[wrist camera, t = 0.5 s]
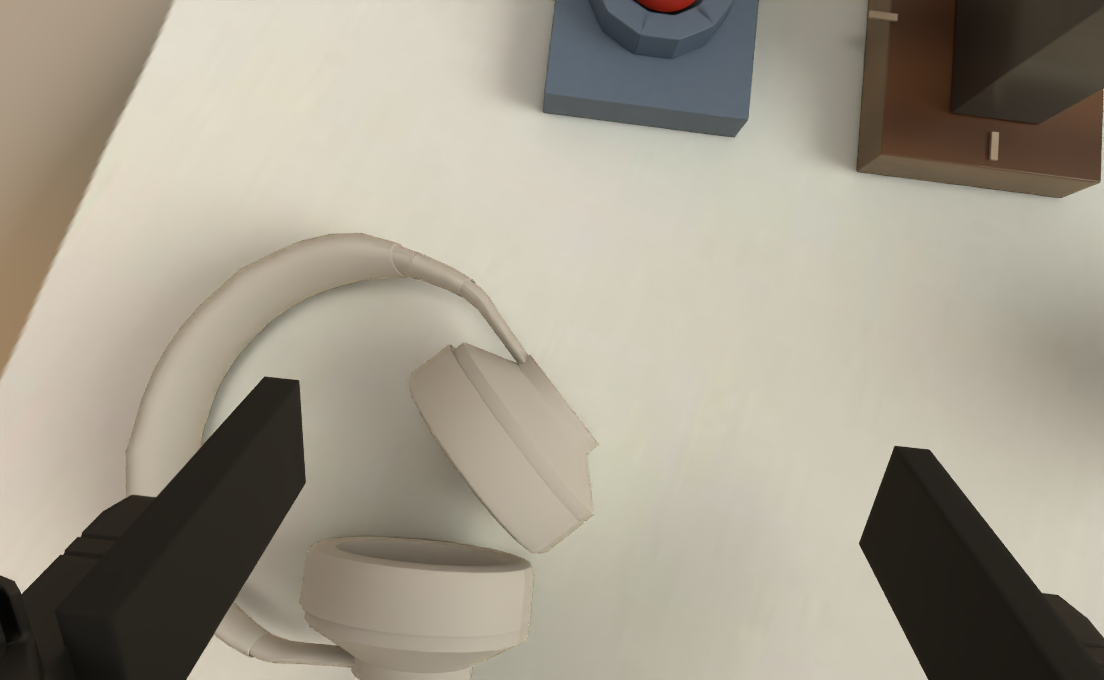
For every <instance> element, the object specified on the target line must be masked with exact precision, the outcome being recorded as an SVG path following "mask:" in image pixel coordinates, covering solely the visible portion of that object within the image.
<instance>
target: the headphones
mask: <svg viewBox="0 0 1104 680" xmlns="http://www.w3.org/2000/svg"><path fill="white" fill-rule="evenodd" d="M407 277H412V278H415V279H418V280H423V281H425V282H428V283H431V284H433V285H436V286H439V287H441V288H444V289H447V290H449V291H451V292H453V293H455V294H457V295H459V296H461V297H464V298H465V299H466V300H467V301H468V302H470V303H471V304H472V305H473V306H474V307H476V308H477V309H478V310H479V312H480V313H481V314H482V316H483V317H484V318H485V319H486V321H487V322H488V323H489V325H490V326H491V327H492V329H493V330H494V332H495V333H496V334H497V336H498V337H499V338H500V340H501V341H502V342H503V344H504V345H505V347H506V348H507V349H508V351H509V352H510V353H511V355H512V356H513V357H514V359H515V360H516V361H517V363H518V364H517V363H515V362H512V361H510V360H507V359H505V358H502V357H500V356H497V355H495V354H492V353H489V352H487V351H484V350H482V349H479V348H477V347H474V346H472V345H469V344H467V343H462V344H461V345H460V346H459V347H457V348H456V349H455V348H454V347H453V346H452V345H448V346H447V347H445V348H444V349H443V350H441V351H440V352H439V353H437V354H436V355H435V356H433V357H432V358H431V359H430V360H428V361H427V362H426V363H424V364H423V365H422V366H420V367H419V368H418V369H416V370H415V371H414V372H412V374H411V376H410V377H409V379H408V382H409V387H410V391H411V395H412V398H413V400H414V402H415V404H416V406H417V408H418V410H419V412H420V414H421V416H422V418H423V419H424V421H425V423H426V424H427V426H428V428H429V429H430V431H431V433H432V434H433V436H434V438H435V439H436V441H437V442H438V444H439V445H440V447H441V448H442V450H443V451H444V452H445V454H446V455H447V457H448V458H449V460H450V461H451V463H452V464H453V466H454V467H455V468H456V470H457V471H458V472H459V474H460V475H461V476H462V478H463V479H464V480H465V482H466V483H467V484H468V486H469V487H470V488H471V490H472V491H473V492H474V494H475V495H476V496H477V498H478V499H479V500H480V501H481V502H482V504H483V505H484V506H485V507H486V508H487V510H488V511H489V512H490V513H491V514H492V516H493V517H494V518H495V519H496V520H497V522H498V523H499V524H500V525H501V526H502V527H503V528H504V529H505V530H506V531H507V532H508V533H509V534H510V535H511V536H512V537H513V538H514V539H515V540H516V541H517V542H519V543H520V544H521V545H522V546H524V547H525V548H526V549H528V550H529V551H530V552H532V553H537V554H540V553H544V552H547V551H549V550H550V549H551V548H552V547H554V546H555V545H556V544H558V543H559V542H560V541H561V540H563V539H564V538H565V537H566V536H568V535H569V534H570V533H572V532H573V531H574V530H575V529H577V528H578V527H579V526H581V525H582V524H583V522H584V521H587V520H588V519H589V518H590V517H592V516H593V515H594V510H593V502H592V493H591V485H590V477H589V469H588V461H587V454H588V453H589V452H590V451H592V450H593V449H594V448H596V447H597V446H598V445H599V444H598V443H597V441H596V440H595V439H594V438H593V436H592V435H591V434H590V432H589V431H588V430H587V428H586V427H585V426H584V424H583V423H582V422H581V420H580V419H579V418H578V417H577V415H576V414H575V413H574V411H573V410H572V409H571V407H570V406H569V405H568V403H567V402H566V401H565V400H564V398H563V397H562V396H561V394H560V393H559V392H558V390H557V389H556V388H555V387H554V385H553V384H552V383H551V381H550V380H549V379H548V377H547V376H546V375H545V373H544V372H543V371H542V370H541V368H540V367H539V366H538V364H537V363H536V362H535V361H534V359H533V358H532V357H531V355H528V354H527V353H526V351H525V350H524V348H523V347H522V345H521V344H520V342H519V341H518V340H517V338H516V337H515V335H514V334H513V332H512V331H511V330H510V328H509V327H508V325H507V324H506V322H505V321H504V319H503V318H502V317H501V315H500V314H499V312H498V311H497V309H496V307H495V305H494V304H493V302H492V300H491V299H490V297H489V296H488V295H487V294H486V293H485V292H484V291H483V290H482V289H481V288H480V287H479V286H478V285H476V284H475V282H474V281H473V280H472V279H470V278H469V277H467V276H466V275H464V274H462V273H461V272H459V271H457V270H456V269H454V268H452V267H450V266H448V265H445V264H443V263H441V262H439V261H437V260H434V259H432V258H430V257H428V256H425V255H423V254H421V253H418V252H415V251H413V250H410V249H407V248H404V247H403V246H402V245H400V244H398V243H395V242H391V241H388V240H384V239H381V238H377V237H374V236H370V235H366V234H363V233H351V234H329V235H324V236H320V237H316V238H312V239H308V240H303V241H300V242H297V243H295V244H293V245H290V246H288V247H286V248H284V249H281V250H279V251H277V252H275V253H273V254H270V255H268V256H266V257H264V258H262V259H260V260H258V261H256V262H254V263H251V264H249V265H247V266H245V267H243V268H241V269H239V270H238V271H237V272H236V273H235V274H234V275H233V276H232V277H231V278H230V279H228V280H227V281H226V282H225V283H224V284H223V285H222V286H221V287H220V288H219V289H218V290H216V291H215V292H214V293H213V294H212V295H211V296H210V297H209V298H207V299H206V300H205V301H204V302H203V303H202V304H201V305H200V306H199V307H198V308H197V309H196V310H195V311H194V313H193V314H192V315H191V316H190V317H189V318H188V319H187V320H186V322H185V323H184V324H183V325H182V326H181V328H180V329H179V330H178V332H177V333H176V335H175V336H174V337H173V339H172V340H171V341H170V343H169V344H168V346H167V347H166V349H165V350H164V352H163V354H162V356H161V358H160V360H159V361H158V363H157V365H156V367H155V369H154V371H153V373H152V375H151V377H150V380H149V382H148V384H147V387H146V389H145V392H144V394H143V396H142V399H141V403H140V406H139V410H138V413H137V417H136V420H135V424H134V427H133V430H132V433H131V436H130V439H129V442H128V445H127V449H126V498H127V497H129V496H130V495H141V496H150V497H157V496H158V494H159V493H160V492H161V491H162V490H163V489H164V488H165V487H166V486H167V484H168V483H169V482H170V481H171V480H172V479H173V478H174V477H175V476H176V474H177V473H178V472H179V471H180V470H181V469H182V468H183V467H184V466H185V464H186V463H187V462H188V461H189V460H190V459H191V458H192V457H193V456H194V454H195V453H196V452H197V451H198V450H199V449H200V448H201V442H202V434H203V430H204V427H205V424H206V421H207V418H208V415H209V412H210V409H211V406H212V403H213V400H214V398H215V395H216V392H217V390H218V388H219V386H220V384H221V382H222V380H223V378H224V377H225V375H226V373H227V371H228V369H229V368H230V367H231V365H232V364H233V362H234V361H235V359H236V358H237V357H238V355H239V354H240V352H241V351H242V350H243V349H244V348H245V347H246V346H247V345H248V344H249V343H250V342H251V341H252V340H253V338H254V337H255V336H256V335H257V334H258V333H259V332H260V331H261V330H262V329H263V328H264V327H265V326H266V325H267V324H268V323H270V322H271V321H272V320H274V319H275V318H276V317H278V316H279V315H281V314H282V313H283V312H285V311H286V310H288V309H289V308H291V307H292V306H294V305H296V304H298V303H299V302H301V301H303V300H305V299H307V298H308V297H310V296H312V295H315V294H317V293H320V292H323V291H326V290H329V289H332V288H335V287H339V286H343V285H347V284H351V283H354V282H358V281H365V280H373V279H380V278H407ZM533 583H534V572H533V569H532V566H531V564H530V562H528V561H527V560H525V559H523V558H520V557H518V556H516V555H513V554H510V553H506V552H502V551H498V550H494V549H489V548H483V547H477V546H472V545H465V544H457V543H450V542H442V541H432V540H421V539H409V538H392V537H339V538H332V539H326V540H322V541H319V542H317V543H315V544H313V545H312V546H311V547H310V549H309V551H308V552H307V555H306V562H305V568H304V575H303V582H302V588H301V595H300V602H299V603H300V605H301V606H302V608H303V610H304V611H306V613H305V619H306V621H307V623H308V625H309V626H310V627H312V628H313V629H314V630H316V631H317V632H319V633H320V634H322V635H323V636H325V637H326V638H328V639H329V640H331V641H332V642H333V643H335V644H336V645H338V646H335V645H324V644H313V643H303V642H296V641H289V640H286V639H283V638H281V637H278V636H275V635H272V634H271V633H270V632H268V631H267V630H265V629H264V628H263V627H261V626H260V625H258V624H257V623H256V622H255V621H254V620H253V619H252V618H250V617H249V616H248V615H247V614H246V613H245V612H244V611H243V610H242V609H240V608H239V607H238V606H237V605H236V604H235V603H234V602H233V603H232V605H231V607H230V608H229V610H228V612H227V613H226V615H225V616H224V618H223V620H222V621H221V623H220V625H219V626H218V628H217V630H216V631H215V633H214V635H215V636H217V637H218V638H219V639H221V640H222V641H223V642H225V643H226V644H227V645H229V646H230V647H232V648H234V649H236V650H238V651H239V652H241V653H243V654H245V655H246V656H248V657H250V658H251V657H256V658H258V659H260V660H263V661H267V662H272V663H296V664H310V665H325V666H339V667H352V673H353V674H354V676H355V677H357V678H359V679H360V680H471V675H472V666H473V665H476V664H478V663H480V662H482V661H484V660H487V659H489V658H491V657H493V656H495V655H498V654H500V653H502V652H504V651H507V650H509V649H511V648H513V647H515V646H518V645H519V644H521V643H522V642H523V641H525V640H526V639H527V638H528V632H529V626H528V625H529V624H530V614H531V604H532V594H533Z"/></svg>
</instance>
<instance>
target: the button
mask: <svg viewBox="0 0 1104 680" xmlns="http://www.w3.org/2000/svg"><path fill="white" fill-rule="evenodd" d="M637 1H638V2H639V3H640V4H642V5H643V6H645V7H647V8H649V9H652V10H655V11H659V12H674V11H678V10H682V9H684V8H686V7H688V6H689V5H691V4H692V3H694V2H695V1H696V0H637Z"/></svg>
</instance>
